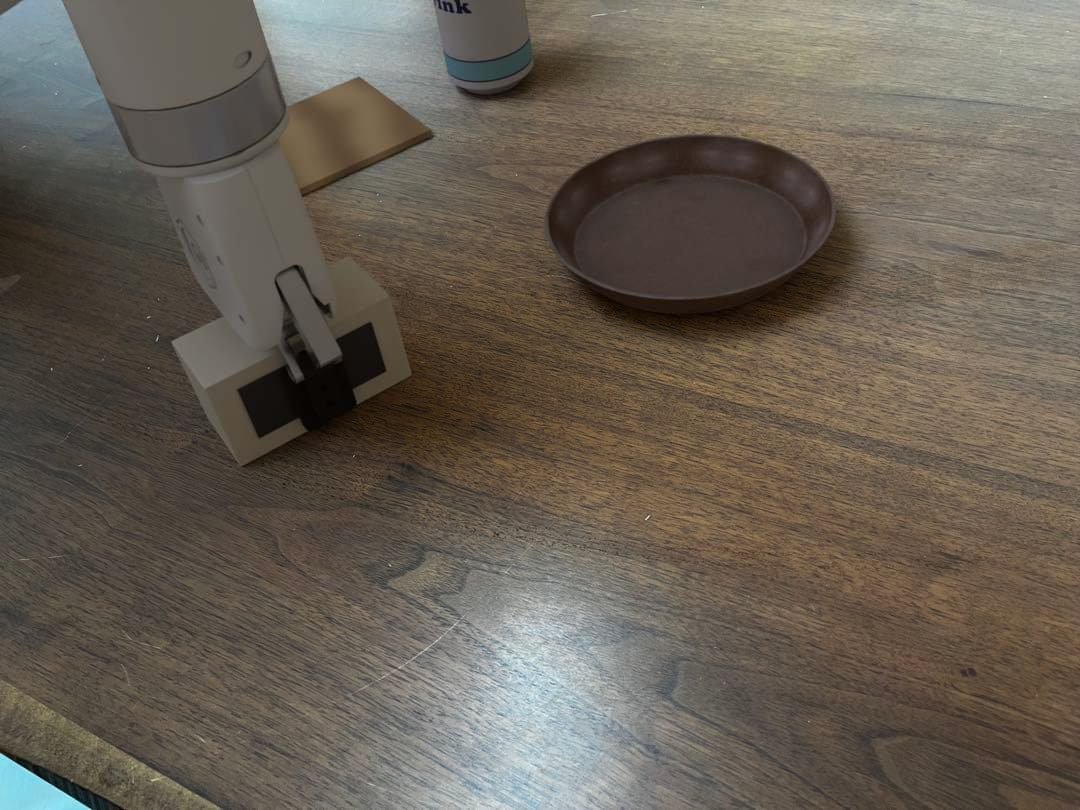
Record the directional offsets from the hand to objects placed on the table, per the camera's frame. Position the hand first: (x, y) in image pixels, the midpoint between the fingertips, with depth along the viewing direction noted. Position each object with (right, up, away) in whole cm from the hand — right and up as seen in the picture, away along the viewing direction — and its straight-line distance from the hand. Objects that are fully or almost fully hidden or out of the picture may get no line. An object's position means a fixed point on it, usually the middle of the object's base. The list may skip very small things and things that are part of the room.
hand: (307, 386), depth 62 cm
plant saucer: (+23, +9, +7) cm, 25 cm away
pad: (-3, +20, +22) cm, 30 cm away
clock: (0, -1, +1) cm, 1 cm away
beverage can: (+10, +25, +25) cm, 37 cm away
